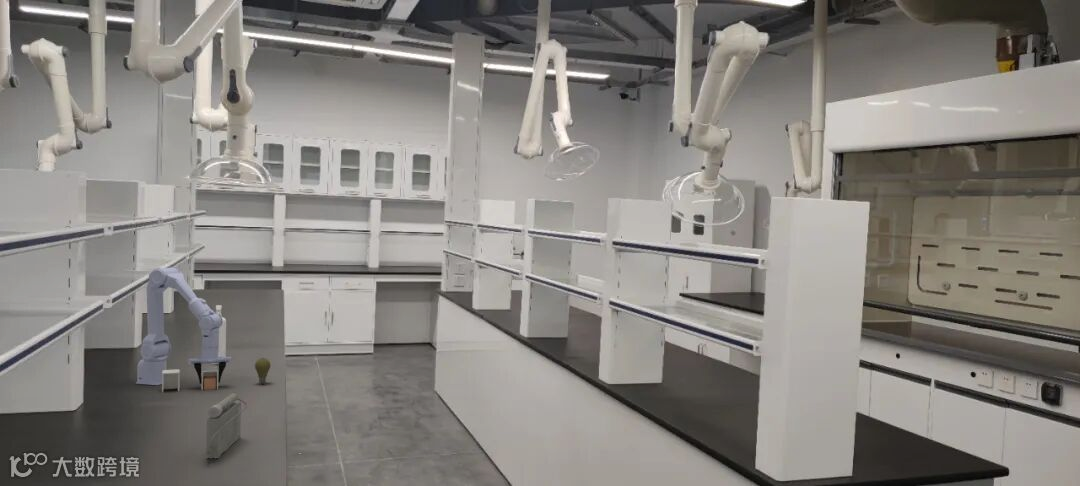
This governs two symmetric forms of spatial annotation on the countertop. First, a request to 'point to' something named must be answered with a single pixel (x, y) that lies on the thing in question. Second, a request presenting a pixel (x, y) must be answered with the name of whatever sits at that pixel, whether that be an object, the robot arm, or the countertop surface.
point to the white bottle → (221, 335)
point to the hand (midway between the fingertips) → (209, 382)
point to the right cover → (209, 374)
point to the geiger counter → (223, 425)
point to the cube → (210, 382)
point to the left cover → (171, 379)
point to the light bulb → (262, 369)
